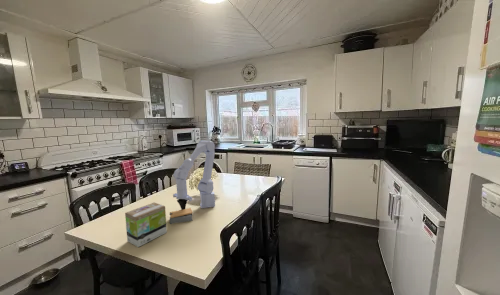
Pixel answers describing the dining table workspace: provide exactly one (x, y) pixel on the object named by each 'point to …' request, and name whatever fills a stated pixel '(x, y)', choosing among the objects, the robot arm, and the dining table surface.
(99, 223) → the dining table surface
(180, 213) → the cover
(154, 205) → the tea box
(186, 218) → the grey angled bars
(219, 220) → the dining table surface
